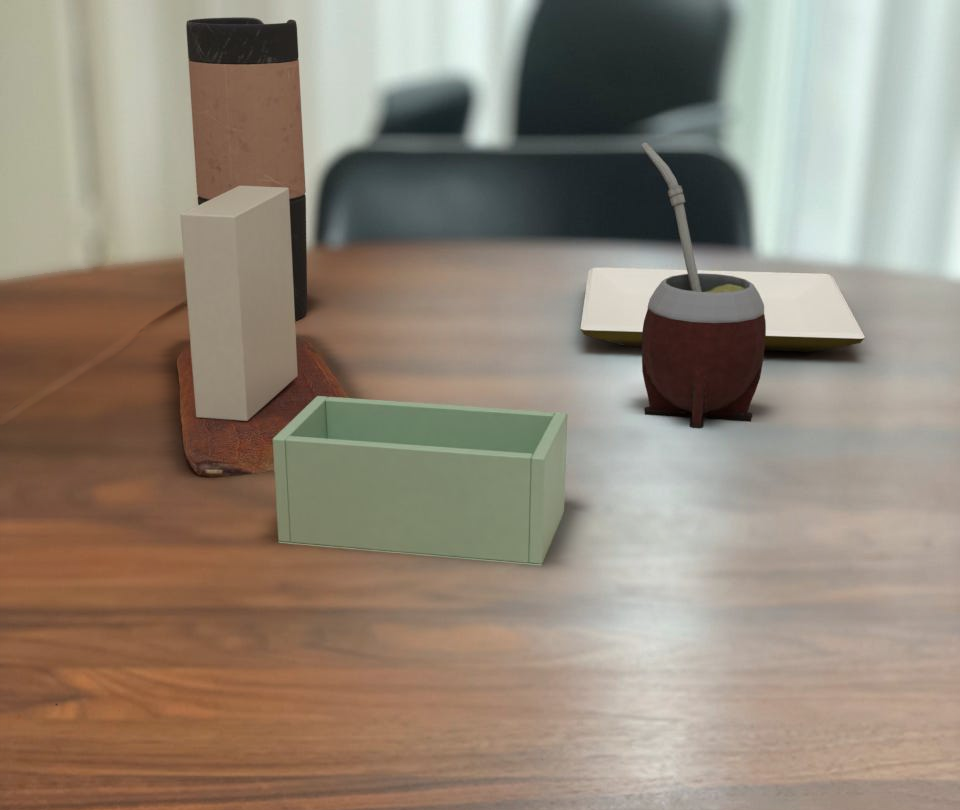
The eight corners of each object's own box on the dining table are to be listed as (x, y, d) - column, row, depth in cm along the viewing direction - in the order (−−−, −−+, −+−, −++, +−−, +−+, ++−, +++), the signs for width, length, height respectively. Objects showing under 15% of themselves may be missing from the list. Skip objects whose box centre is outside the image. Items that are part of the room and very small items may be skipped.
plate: (587, 293, 117) (588, 266, 116) (830, 300, 116) (833, 273, 115) (579, 356, 100) (580, 326, 99) (862, 365, 99) (866, 335, 98)
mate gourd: (757, 441, 85) (783, 166, 78) (618, 432, 86) (632, 161, 79) (757, 402, 91) (781, 146, 85) (628, 395, 92) (642, 141, 86)
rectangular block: (250, 373, 90) (238, 185, 86) (298, 376, 90) (289, 187, 85) (195, 418, 82) (179, 213, 78) (247, 421, 82) (234, 216, 77)
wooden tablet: (380, 478, 79) (379, 448, 78) (187, 490, 77) (184, 459, 76) (323, 345, 102) (322, 321, 102) (173, 352, 100) (171, 327, 100)
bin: (278, 551, 70) (272, 438, 67) (321, 501, 76) (316, 395, 73) (541, 574, 67) (544, 458, 65) (563, 520, 73) (567, 412, 71)
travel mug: (211, 329, 106) (188, 25, 97) (201, 304, 113) (180, 17, 104) (318, 323, 108) (305, 24, 99) (303, 299, 114) (290, 16, 106)
